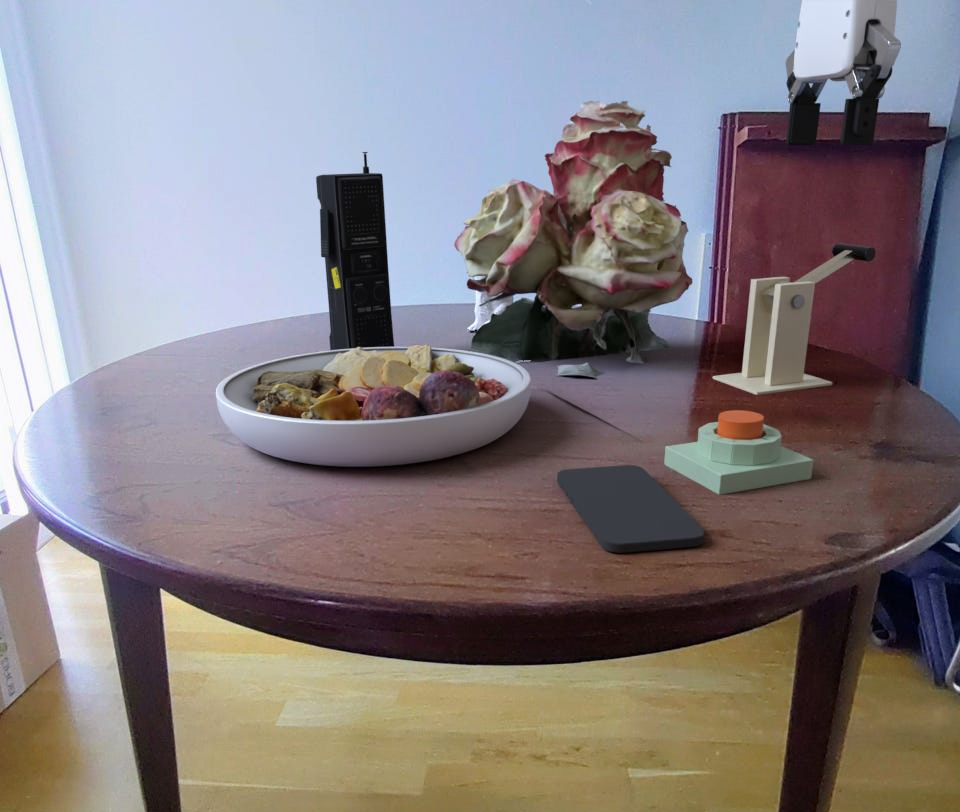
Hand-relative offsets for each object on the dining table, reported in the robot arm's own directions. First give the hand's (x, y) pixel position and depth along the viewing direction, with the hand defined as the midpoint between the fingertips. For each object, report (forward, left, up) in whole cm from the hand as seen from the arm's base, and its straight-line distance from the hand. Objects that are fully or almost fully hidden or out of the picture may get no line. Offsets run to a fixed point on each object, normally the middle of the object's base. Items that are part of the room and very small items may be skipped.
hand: (827, 145), depth 91 cm
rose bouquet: (+15, -22, -25) cm, 37 cm away
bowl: (+47, -5, -25) cm, 53 cm away
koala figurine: (+18, -47, -25) cm, 56 cm away
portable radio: (+41, -35, -25) cm, 59 cm away
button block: (+23, +20, -25) cm, 39 cm away
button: (+23, +20, -22) cm, 37 cm away
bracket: (+3, -1, -25) cm, 25 cm away
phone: (+36, +24, -25) cm, 50 cm away
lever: (-2, -1, -14) cm, 14 cm away
